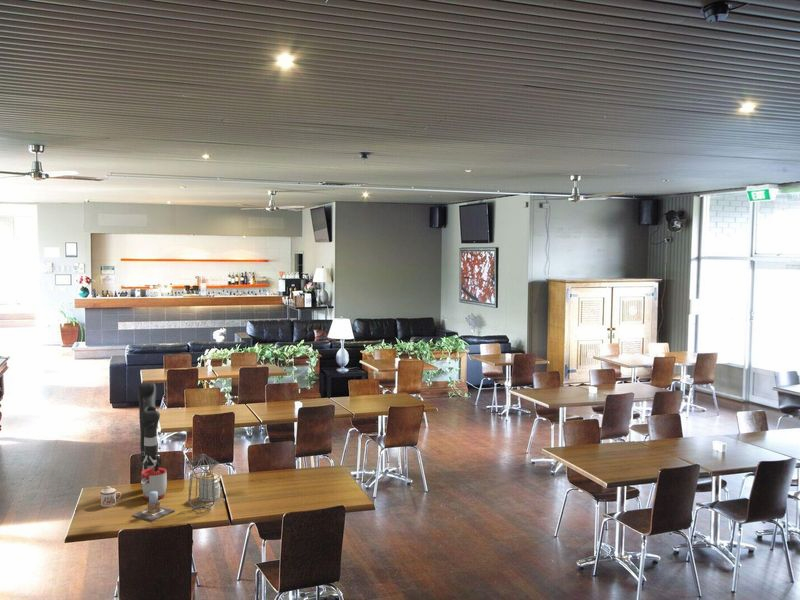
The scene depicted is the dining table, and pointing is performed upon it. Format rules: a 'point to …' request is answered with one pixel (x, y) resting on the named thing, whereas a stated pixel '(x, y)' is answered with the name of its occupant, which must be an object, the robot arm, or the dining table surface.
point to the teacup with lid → (109, 497)
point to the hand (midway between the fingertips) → (150, 470)
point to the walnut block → (153, 507)
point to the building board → (153, 517)
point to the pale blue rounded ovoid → (153, 497)
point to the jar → (209, 486)
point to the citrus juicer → (154, 481)
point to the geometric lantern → (201, 478)
